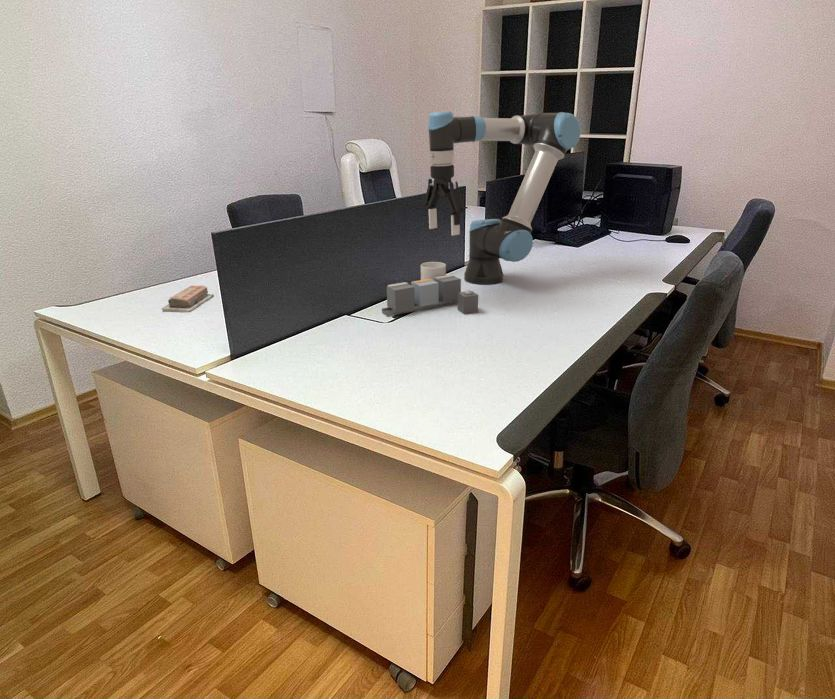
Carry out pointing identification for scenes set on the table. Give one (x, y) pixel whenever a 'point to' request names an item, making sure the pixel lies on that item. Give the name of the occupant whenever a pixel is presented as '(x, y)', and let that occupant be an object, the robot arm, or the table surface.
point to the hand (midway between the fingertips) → (444, 231)
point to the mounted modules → (404, 297)
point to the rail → (391, 312)
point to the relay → (467, 302)
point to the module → (426, 292)
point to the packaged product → (188, 299)
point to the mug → (432, 270)
